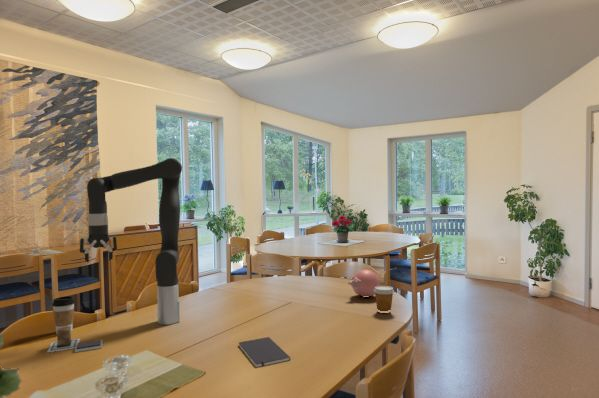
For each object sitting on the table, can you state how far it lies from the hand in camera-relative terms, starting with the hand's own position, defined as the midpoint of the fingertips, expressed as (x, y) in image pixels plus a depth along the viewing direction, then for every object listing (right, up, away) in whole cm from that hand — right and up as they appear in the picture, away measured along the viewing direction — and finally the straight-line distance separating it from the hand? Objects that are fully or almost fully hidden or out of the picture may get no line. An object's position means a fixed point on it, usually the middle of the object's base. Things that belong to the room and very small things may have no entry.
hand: (99, 261), depth 166 cm
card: (-5, -31, -16) cm, 35 cm away
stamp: (-5, -30, -16) cm, 35 cm away
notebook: (+74, -31, -24) cm, 83 cm away
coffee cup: (-14, -31, -2) cm, 34 cm away
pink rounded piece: (+122, -28, +47) cm, 134 cm away
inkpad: (+6, -30, -18) cm, 36 cm away
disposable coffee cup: (+128, -29, +21) cm, 133 cm away
